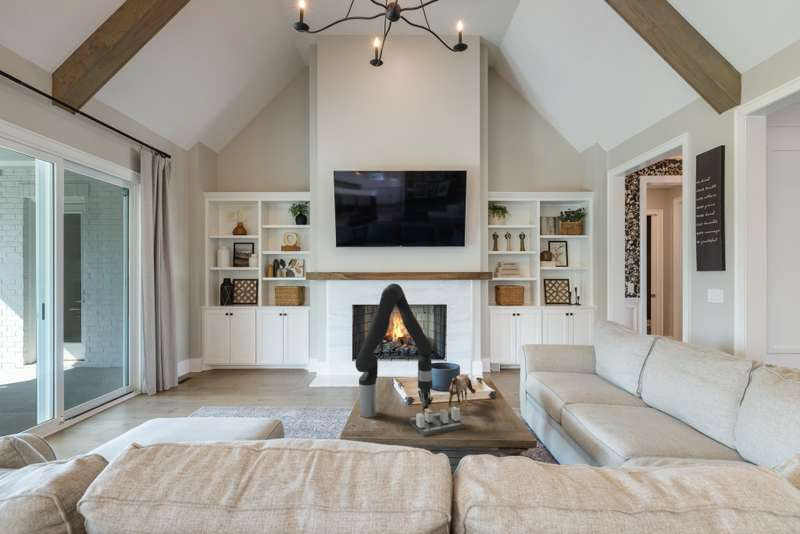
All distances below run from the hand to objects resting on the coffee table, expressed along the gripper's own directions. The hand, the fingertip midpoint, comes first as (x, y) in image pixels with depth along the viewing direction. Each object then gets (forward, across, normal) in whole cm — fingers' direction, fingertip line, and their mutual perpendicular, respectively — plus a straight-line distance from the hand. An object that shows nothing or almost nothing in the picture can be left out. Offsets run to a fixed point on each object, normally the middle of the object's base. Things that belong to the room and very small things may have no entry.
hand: (425, 411), depth 208 cm
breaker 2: (+3, +4, 0) cm, 5 cm away
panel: (+5, +5, +3) cm, 8 cm away
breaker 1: (+3, +8, -7) cm, 11 cm away
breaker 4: (+3, +8, +13) cm, 15 cm away
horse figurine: (+6, -8, +28) cm, 30 cm away
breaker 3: (+3, +8, +6) cm, 11 cm away
